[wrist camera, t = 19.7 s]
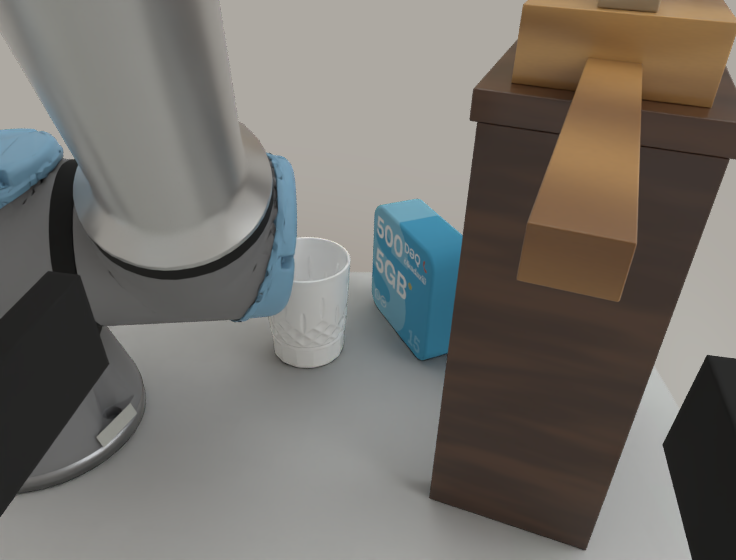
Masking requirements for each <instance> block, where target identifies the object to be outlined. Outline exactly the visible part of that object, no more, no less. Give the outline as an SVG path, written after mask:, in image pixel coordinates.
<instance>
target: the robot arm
mask: <svg viewBox="0 0 736 560" xmlns="http://www.w3.org/2000/svg"><path fill="white" fill-rule="evenodd" d="M0 33H1V34H2V36H3V38H4V39H5V41H6V43H7V44H8V46H9V48H10V49H11V51H12V53H13V55H14V56H15V58H16V60H17V61H18V63H19V65H20V66H21V68H22V70H23V72H24V73H25V75H26V77H27V78H28V80H29V82H30V84H31V85H32V87H33V88H34V90H35V92H36V94H37V95H38V97H39V99H40V101H41V102H42V104H43V105H44V107H45V109H46V110H47V112H48V114H49V116H50V118H51V119H52V121H53V123H54V124H55V126H56V128H57V129H58V131H59V133H60V134H61V136H62V138H63V139H64V141H65V143H66V145H67V146H68V148H69V150H70V151H71V153H72V155H73V156H74V158H75V159H74V160H73V159H64V158H63V148H62V147H61V146H60V145H59V144H58V142H57V140H56V139H55V138H54V137H53V136H52V135H51V134H49V133H47V132H44V131H40V132H38V131H37V130H35V129H5V130H0V517H1V515H2V514H3V513H4V511H5V510H6V508H7V507H8V506H9V504H10V503H11V501H12V500H13V499H14V497H15V496H16V494H17V493H23V492H30V491H35V490H40V489H44V488H48V487H51V486H55V485H58V484H61V483H63V482H66V481H69V480H71V479H73V478H75V477H78V476H80V475H82V474H84V473H86V472H87V471H89V470H91V469H93V468H94V467H96V466H98V465H99V464H101V463H102V462H104V461H105V460H106V459H108V458H109V457H110V456H112V455H113V454H114V453H115V452H116V451H118V450H119V449H120V448H121V447H122V446H123V445H124V444H125V443H126V442H127V440H128V439H129V438H130V437H131V436H132V434H133V433H134V432H135V430H136V428H137V427H138V425H139V423H140V421H141V419H142V417H143V414H144V410H145V405H146V395H145V390H144V385H143V381H142V377H141V374H140V372H139V370H138V368H137V366H136V364H135V363H134V361H133V360H132V359H131V357H130V356H129V355H128V353H127V352H126V351H125V349H124V348H123V347H122V345H121V344H120V343H119V342H118V340H117V339H116V338H115V336H114V335H113V334H112V332H111V331H110V330H109V328H108V327H107V326H116V325H136V324H157V323H177V322H198V321H218V320H231V321H233V322H242V321H243V322H244V321H246V320H248V319H249V318H258V317H269V316H273V315H276V314H278V313H279V312H281V311H282V310H283V309H284V308H285V306H286V305H287V303H288V301H289V298H290V295H291V291H292V285H293V279H294V268H295V263H294V255H295V248H296V238H297V203H296V188H295V178H294V172H293V169H292V166H291V164H290V163H289V162H288V160H286V158H284V157H282V156H276V155H272V154H271V153H266V152H265V149H264V148H263V146H262V144H261V143H260V141H259V140H258V139H257V137H255V135H254V134H253V133H252V132H251V131H250V130H249V129H248V128H247V127H246V126H245V125H244V124H242V123H240V122H239V121H238V115H237V109H236V103H235V96H234V90H233V83H232V77H231V71H230V65H229V59H228V52H227V46H226V40H225V33H224V27H223V21H222V15H221V8H220V2H219V0H0ZM663 448H664V452H665V456H666V460H667V464H668V468H669V471H670V475H671V479H672V483H673V487H674V491H675V495H676V499H677V502H678V506H679V510H680V514H681V518H682V522H683V526H684V530H685V533H686V537H687V541H688V545H689V549H690V553H691V557H692V560H736V359H734V358H726V357H718V356H710V355H707V356H706V358H705V360H704V362H703V364H702V366H701V368H700V370H699V372H698V374H697V376H696V378H695V380H694V382H693V384H692V386H691V388H690V391H689V392H688V394H687V396H686V399H685V400H684V403H683V404H682V406H681V409H680V411H679V413H678V415H677V417H676V419H675V421H674V423H673V425H672V427H671V429H670V431H669V433H668V435H667V437H666V439H665V441H664V443H663Z"/></svg>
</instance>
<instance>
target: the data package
mask: <svg viewBox="0 0 736 560" xmlns="http://www.w3.org/2000/svg"><path fill="white" fill-rule="evenodd" d="M462 238H463V235H462V234H461V233H459V232H458V231H457V230H456V229H455V228H453V227H452V226H451V225H450V224H449V223H447V222H446V221H445V220H444V219H443V218H442V217H441V216H439V215H438V214H437V213H436V212H435V211H434V210H432V209H431V208H430V207H429V206H428V205H427V204H425V203H424V202H423V201H422V200H420V199H413V200H407V201H401V202H396V203H390V204H384V205H380V206H378V207H377V208H376V210H375V219H374V246H373V273H372V295H373V299H374V302H375V304H376V306H377V307H378V309H379V310H380V311H381V313H382V314H383V315H384V316H385V318H386V319H387V320H388V322H389V323H390V324H391V325H392V327H393V328H394V329H395V330H396V332H397V333H398V334H399V336H400V337H401V338H402V339H403V341H404V342H405V343H406V345H407V346H408V347H409V348H410V350H411V351H412V352H413V353H414V355H415V356H416V357H417V358H418V359H420V360H425V359H429V358H433V357H436V356H440V355H443V354H447V353H448V347H449V339H450V332H451V324H452V316H453V308H454V300H455V292H456V285H457V277H458V269H459V261H460V253H461V245H462Z"/></svg>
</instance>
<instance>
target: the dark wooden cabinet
mask: <svg viewBox="0 0 736 560" xmlns="http://www.w3.org/2000/svg"><path fill="white" fill-rule="evenodd" d="M517 41H518V39H517ZM517 41H516V42H515V43H514V44H513V45H512V46H511V48H509V50H508V51H507V52H506V53H505V54H504V55H503V56H502V58H501V59H500V60H499V61H498V62H497V63H496V64H495V66H493V68H492V69H491V70H490V71H489V72H488V73H487V74H486V75H485V76H484V78H483V79H482V80H481V81H480V82H479V83H478V84H477V86H476V87H475V88H474V89H473V95H472V103H471V111H470V121H475V122H477V128H476V136H475V143H474V151H473V159H472V167H471V175H470V183H469V191H468V198H467V206H466V214H465V222H464V230H463V238H462V245H461V253H460V261H459V269H458V277H457V285H456V292H455V300H454V308H453V316H452V324H451V332H450V339H449V347H448V355H447V363H446V371H445V379H444V386H443V394H442V402H441V410H440V418H439V426H438V434H437V441H436V449H435V457H434V465H433V473H432V481H431V488H430V496H429V498H430V499H434V500H437V501H440V502H443V503H446V504H449V505H452V506H455V507H458V508H461V509H464V510H467V511H470V512H473V513H476V514H479V515H482V516H485V517H488V518H491V519H494V520H497V521H500V522H503V523H506V524H509V525H512V526H515V527H518V528H521V529H524V530H527V531H530V532H533V533H536V534H539V535H542V536H545V537H548V538H551V539H554V540H557V541H560V542H563V543H566V544H569V545H572V546H575V547H578V548H581V549H584V550H586V548H587V546H588V543H589V540H590V537H591V535H592V532H593V529H594V527H595V524H596V521H597V518H598V516H599V513H600V510H601V507H602V505H603V502H604V499H605V497H606V494H607V491H608V488H609V486H610V483H611V480H612V478H613V475H614V472H615V469H616V467H617V464H618V461H619V459H620V456H621V453H622V450H623V448H624V445H625V442H626V440H627V437H628V434H629V431H630V429H631V426H632V423H633V421H634V418H635V415H636V412H637V410H638V407H639V404H640V402H641V399H642V396H643V393H644V391H645V388H646V385H647V383H648V380H649V377H650V374H651V372H652V369H653V366H654V364H655V361H656V358H657V355H658V352H659V350H660V347H661V345H662V342H663V339H664V336H665V334H666V331H667V328H668V326H669V323H670V320H671V317H672V315H673V312H674V309H675V307H676V304H677V301H678V298H679V296H680V293H681V290H682V287H683V285H684V282H685V279H686V277H687V274H688V271H689V268H690V266H691V263H692V260H693V258H694V255H695V252H696V249H697V247H698V244H699V241H700V239H701V236H702V233H703V230H704V228H705V225H706V222H707V219H708V217H709V214H710V211H711V209H712V206H713V203H714V200H715V198H716V195H717V192H718V190H719V187H720V184H721V182H722V179H723V176H724V173H725V171H726V168H727V165H728V163H729V159H736V87H735V85H734V83H733V81H732V78H731V76H730V74H729V72H728V70H727V67H726V66H725V69H724V72H723V75H722V78H721V81H720V84H719V87H718V90H717V93H716V96H715V99H714V102H713V105H712V107H711V108H706V107H698V106H690V105H682V104H674V103H666V102H658V101H650V100H642V102H641V134H640V165H639V197H638V229H637V246H636V249H635V253H634V256H633V259H632V262H631V266H630V269H629V272H628V275H627V279H626V282H625V285H624V288H623V292H622V295H621V298H620V301H619V302H615V301H611V300H606V299H601V298H597V297H592V296H588V295H583V294H578V293H574V292H569V291H565V290H560V289H555V288H551V287H546V286H542V285H537V284H532V283H528V282H523V281H519V280H517V273H518V268H519V262H520V257H521V252H522V246H523V241H524V236H525V231H526V225H527V222H528V219H529V216H530V214H531V211H532V208H533V205H534V203H535V200H536V197H537V195H538V192H539V189H540V186H541V184H542V181H543V178H544V175H545V173H546V170H547V167H548V165H549V162H550V159H551V156H552V154H553V151H554V148H555V146H556V143H557V140H558V137H559V135H560V132H561V129H562V126H563V124H564V121H565V118H566V116H567V113H568V110H569V107H570V105H571V102H572V99H573V97H574V94H575V91H570V90H562V89H554V88H546V87H538V86H530V85H522V84H514V83H511V81H512V74H513V67H514V61H515V54H516V48H517Z"/></svg>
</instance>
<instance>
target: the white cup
mask: <svg viewBox="0 0 736 560" xmlns="http://www.w3.org/2000/svg"><path fill="white" fill-rule="evenodd" d="M294 263H295V268H294V279H293V285H292V291H291V295H290V298H289V301H288V303H287V305H286V306H285V308H284V309H283V310H282V311H281V312H279V313H278V314H276V315H273V316H269V323H270V328H271V330H272V335H273V342H274V349H275V354H276V355H277V356H278V357H279V358H280V359H281V360H282V361H283V362H284V363H287V364H290V365H292V366H295V367H301V368H314V367H318V366H322V365H325V364H328V363H330V362H331V361H333V360H334V359H335V358H337V357H338V356H339V355H340V352H341V350H342V348H343V345H344V328H345V323H346V311H347V303H348V287H349V271H350V255H349V253H348V252H347V250H346V249H345V248H344V247H343V246H341V245H340V244H338V243H336V242H333V241H330V240H327V239H323V238H316V237H299V238H296V248H295V255H294Z"/></svg>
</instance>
